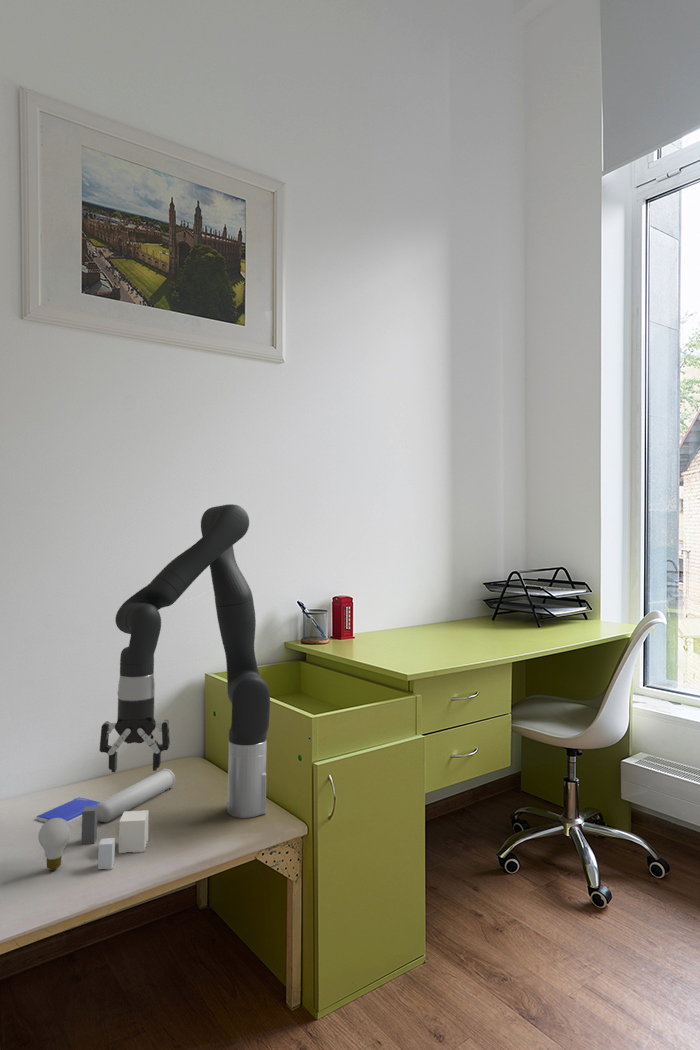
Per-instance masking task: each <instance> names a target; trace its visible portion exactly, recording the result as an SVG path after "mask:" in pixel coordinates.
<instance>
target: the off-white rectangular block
mask: <svg viewBox="0 0 700 1050" xmlns="http://www.w3.org/2000/svg"><path fill="white" fill-rule="evenodd" d="M149 811H150V810H148V809H147V810H145V809H143V810H129V811H124V813H123V814H122V815H121V817H120V819H119V823H118V824H119V825H118V854H127V853H126V852H133V853H144V852H145V851H146V848H147V845H146V844H148V842H147V841H149V815H150V814H149ZM145 847H146V848H145Z"/></svg>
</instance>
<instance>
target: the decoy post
mask: <svg viewBox="0 0 700 1050" xmlns="http://www.w3.org/2000/svg"><path fill="white" fill-rule="evenodd" d="M98 843H99V844H98V853H97V854H98V857H97V858H98V859H97V862H98V863H97V867H98V868H97V870H98V869H107V870H112V869H113V867H114V865H115V847H116V846H115V843H116V838H115V837H109V838H108V837H107V838H101V839H100V841H99V842H98ZM113 864H114V865H113Z"/></svg>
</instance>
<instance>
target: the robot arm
mask: <svg viewBox="0 0 700 1050" xmlns="http://www.w3.org/2000/svg"><path fill="white" fill-rule="evenodd" d="M249 526H250V518H249V514H248V512H247V511H246V509H244V508H243V507H242V506H240V505H237V504H222V505H217V506H212V507H210V508H207V509H206V510H205V511H204V512H203V514H202V516H201V519H200V531H201V538H199V540H197V541H196V542H195V543H194V544H192V546H190V547H188V548H187V549H186V550H184V551H183V552H181V553H180V554H179V555H177V556H176V557H174V558H173V559H172V560H171V561H170V562H169V563H167V564H166V566H165V567H164V568H162V569H161V571H160V572H159V573H158V574H156V576H155V577H154V578H153V579H152V580H151V581H150V583H148V584H147V585H146V586H144V587H142V588H141V589H139V590H138V591H137V592H135V594H132V595H131V596H130V597H129V598H128V599H126V600H125V601H124V602H123V604H121V606H120V607H119V609H118V610H117V612H116V614H115V625H116V627H117V628H118V630H119V631H120V632H122V633H124V634H127V635H130V638H129V643H128V646H126V647H124V648H122V650H121V653H120V658H119V659H120V660H119V679H118V688H117V689H118V690H117V718H116V719H117V720H116V722H110V721H105V722H103V723H102V725H101V730H100V740H99V741H100V742H99V752H100V753H105V754H107V755H108V769H109V770H111V773H116V771H117V770H118V751H117V750H118V749H119V748H120V746H121V745H122V744H123V743H126V744H129V745H130V744H134V743H136V744H142V743H144V742H145V744H146V745H147V746H148V747H149V748H150V749H151V751H153V754H152V771H156V772H157V770H158V768H160V766H161V760H162V752H164V751H168V749H170V748H169V747H170V745H171V744H170V743H171V742H170V741H171V740H170V721H169V719H164V720H162V721H156V720H155V689H156V688H155V687H156V686H155V684H156V683H155V674H154V673H155V671H154V669H155V667H154V666H155V652H156V649H157V646H158V641H159V637H160V634H161V631H162V630H161V628H162V617H161V613H160V612H159V610H161V609H164V608H166V607H170V606H172V605H174V604H175V603H176V602H177V600H179V598H180V597H181V596H182V595H183V594H184V592H185V591H187V589H188V588H189V587H190V586H191V585H192V584H193V583H194V581H196V579H197V578H198V577H199V576H200V575H201V574H202V573H203V572H204V571H205V570H206V569H207V568H208V567H209V570H210V576H211V582H212V588H213V593H214V594H213V595H214V604H215V611H216V616H217V623H218V628H219V632H220V636H221V637H220V638H221V642H222V646H223V650H224V653H225V659H226V660H225V661H226V677H227V678H226V679H227V681H226V682H227V685H226V687H227V695H228V699H229V701H230V703H231V725H230V728H229V730H228V756H227V757H228V759H227V761H228V763H227V764H228V765H227V767H228V768H227V802H226V803H227V805H226V806H227V810H226V811H227V813H228V815H230V816H231V817H235V818H240V819H241V818H242V819H244V818H246V819H248V818H254V817H257V816H260V815H266V814H267V736H268V730H269V726H270V709H271V693H270V692H271V691H270V688H269V686H268V684H267V682H266V681H265V680H264V679H263V678H261V675H260V671H259V668H258V662H257V659H256V653H255V639H256V627H257V626H256V625H257V624H256V620H257V619H256V611H255V604H254V597H253V592H252V590H251V587H250V585H249V583H248V582H247V580H246V578H245V577H244V575H243V573H242V571H241V570H240V567H239V565H238V563H237V561H236V557H235V552H234V551H235V550H234V545H235V544H236V543H237V542H238V541H240V540H241V539H242V538H244V537H245V535H246V534H247V533H248V530H249V528H250V527H249ZM156 728H157V729H158V732H159V733H161V737H162V738H161V739H162V743H159V741H158V740H157V738H156V736H155V735H154V733H153V732H154V731H155V729H156ZM114 730H115V731H116V733H117V734H118V735H119V736H118V738H117V739H116V740H115V742H114V743H113V744H112V745H109V736H110V734H111V733H112V732H113V731H114Z"/></svg>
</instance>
